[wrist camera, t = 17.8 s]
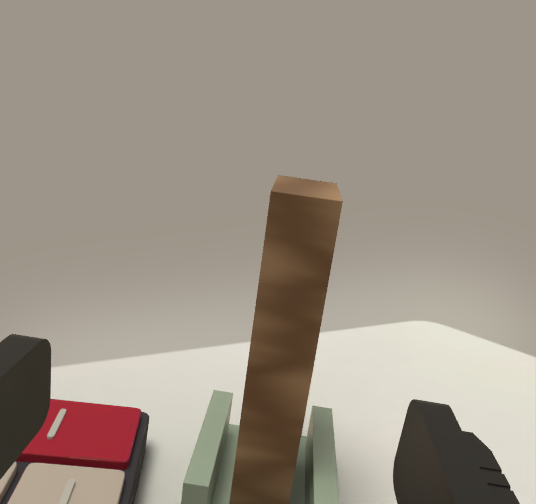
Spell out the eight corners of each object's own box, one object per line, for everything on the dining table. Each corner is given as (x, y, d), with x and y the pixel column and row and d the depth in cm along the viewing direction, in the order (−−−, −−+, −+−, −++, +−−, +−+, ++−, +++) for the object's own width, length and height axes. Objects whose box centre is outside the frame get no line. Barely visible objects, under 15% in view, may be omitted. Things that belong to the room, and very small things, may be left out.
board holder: (164, 568, 24) (171, 497, 23) (205, 435, 33) (212, 380, 32) (332, 597, 24) (347, 527, 22) (325, 455, 33) (335, 400, 32)
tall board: (227, 516, 26) (271, 191, 21) (240, 451, 31) (278, 175, 26) (285, 525, 26) (342, 201, 21) (289, 459, 30) (336, 183, 26)
